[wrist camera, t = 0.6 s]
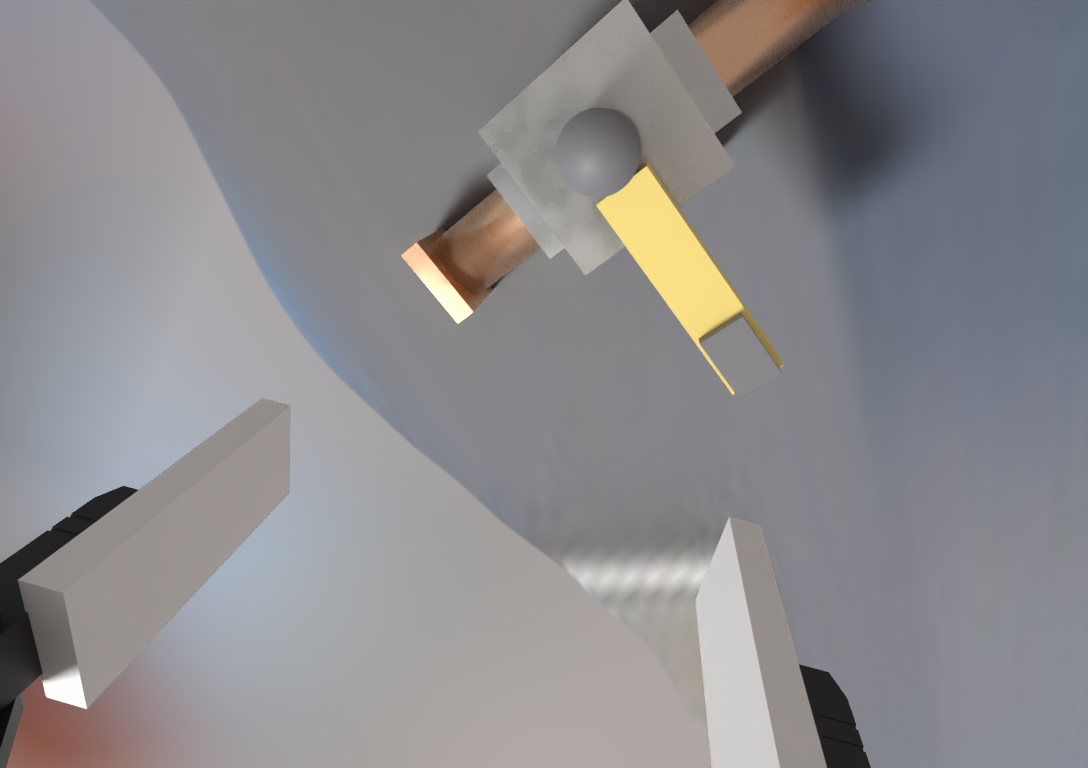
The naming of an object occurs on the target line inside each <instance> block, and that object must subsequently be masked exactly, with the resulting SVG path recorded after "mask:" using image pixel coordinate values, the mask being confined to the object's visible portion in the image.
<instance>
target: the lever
mask: <svg viewBox="0 0 1088 768" xmlns="http://www.w3.org/2000/svg"><path fill="white" fill-rule="evenodd" d="M640 154H641V140H640V135H639V132H638V130H637V128H636V126H635V124H634V123H633V122H632V120H631V119H630V118H629V117H628V116H626V115H625V114H623V113H622V112H620V111H617V110H614V109H609V108H591V109H587V110H584V111H582V112H580V113H578V114H576V115H575V116H574V117H572V118H571V119H570V120H569V121H568V122H567V123H566V125H565V126H564V127H563V129H562V131H561V133H560V135H559V137H558V141H557V145H556V163H557V167H558V170H559V173H560V175H561V177H562V178H563V180H564V181H565V183H566V184H567V185H568V186H569V187H570V188H571V189H573V190H574V191H575V192H577V193H579V194H581V195H584V196H587V197H592V198H600V199H599V201H598V203H597V204H596V206H597V207H598V209H599V210H600V211H601V213H602V214H603V216H604V217H605V218H606V220H607V221H608V223H609V224H610V225H611V227H612V228H613V230H614V231H615V232H616V234H617V235H618V236H619V238H620V239H621V241H622V242H623V243H624V245H625V246H626V248H627V249H628V250H629V252H630V253H631V254H632V256H633V257H634V259H635V260H636V261H637V263H638V264H639V266H640V267H641V268H642V270H643V271H644V272H645V274H646V275H647V277H648V278H649V279H650V281H651V282H652V284H653V285H654V286H655V288H656V289H657V290H658V292H659V293H660V295H661V296H662V297H663V299H664V300H665V302H666V303H667V304H668V306H669V307H670V308H671V310H672V311H673V313H674V314H675V315H676V317H677V318H678V320H679V321H680V322H681V324H682V325H683V326H684V328H685V329H686V331H687V332H688V333H689V335H690V336H691V338H692V339H693V340H694V342H695V343H696V345H697V346H698V347H699V349H700V350H701V351H702V353H703V354H704V356H705V357H706V358H707V360H708V361H709V363H710V364H711V365H712V367H713V368H714V369H715V371H716V372H717V374H718V375H719V376H720V378H721V379H722V381H723V382H724V383H725V385H726V386H727V387H728V389H729V390H730V392H731V393H732V394H736V395H737V397H738V398H740V397H742V396H744V395H745V394H747V393H749V392H751V391H752V390H754V389H756V388H758V387H759V386H761V385H763V384H765V383H766V382H768V381H770V380H772V379H773V378H775V377H777V376H779V375H780V374H782V373H781V371H780V369H779V368H780V367H782V366H783V364H782V362H781V360H780V358H779V356H778V354H777V352H776V351H775V349H774V347H773V345H772V344H771V342H770V341H769V339H768V338H767V336H766V335H765V333H764V332H763V330H762V329H761V327H760V326H759V325H758V323H757V322H756V320H755V319H754V317H753V316H752V314H751V313H750V311H749V310H748V308H747V307H746V306H745V304H744V303H743V301H742V300H741V298H740V297H739V295H738V294H737V292H736V291H735V289H734V288H733V287H732V285H731V284H730V282H729V281H728V279H727V278H726V276H725V275H724V273H723V272H722V270H721V269H720V268H719V266H718V265H717V263H716V262H715V260H714V259H713V257H712V256H711V254H710V253H709V251H708V250H707V249H706V247H705V246H704V244H703V243H702V241H701V240H700V238H699V237H698V235H697V234H696V232H695V231H694V230H693V228H692V227H691V225H690V224H689V222H688V221H687V219H686V218H685V216H684V215H683V213H682V212H681V211H680V209H679V208H678V206H677V205H676V203H675V202H674V200H673V199H672V197H671V196H670V194H669V193H668V192H667V190H666V189H665V187H664V186H663V184H662V183H661V181H660V180H659V178H658V177H657V175H656V174H655V173H654V171H653V170H652V168H651V167H650V165H649V164H648V162H645V163H644V164H643V165H641V166H640V167H639V168H638V169H637V167H638V164H639V160H640Z"/></svg>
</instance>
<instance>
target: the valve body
mask: <svg viewBox="0 0 1088 768" xmlns="http://www.w3.org/2000/svg"><path fill="white" fill-rule="evenodd" d="M856 1H857V0H717V1H716V2H715V3H714V4H713V5H711V6H710V7H709V8H708V9H707V10H705V11H704V12H703V13H702V14H701V15H700V16H698V17H697V18H696V19H695V20H694V21H693V22H691V23H690V24H689V25H687V24H686V22H685V21H684V19H683V17H682V16H681V14H680V13H679V11H678V9H677V10H676V11H675V12H674V13H673V14H672V15H671V16H669V17H668V18H667V19H666V20H665V21H664V22H662V23H661V24H660V25H659V26H658V27H657V28H656V29H654V30H653V31H652V32H651V33H649V31H648V30H647V28H646V27H645V25H644V24H643V22H642V21H641V19H640V17H639V16H638V14H637V13H636V11H635V10H634V8H633V7H632V5H631V4H630V2H629V0H622V1H621V2H620V3H619V4H618V5H617V6H616V7H614V8H613V9H612V10H611V11H610V12H609V13H608V14H607V15H606V16H605V17H603V18H602V19H601V20H600V21H599V22H598V23H597V24H596V25H595V26H594V27H592V28H591V29H590V30H589V31H588V32H587V33H586V34H585V35H584V36H583V37H581V38H580V39H579V40H578V41H577V42H576V43H575V44H574V45H573V46H572V47H571V48H569V49H568V50H567V51H566V52H565V53H564V54H563V55H562V56H561V57H560V58H558V59H557V60H556V61H555V62H554V63H553V64H552V65H551V66H550V67H549V68H547V69H546V70H545V71H544V72H543V73H542V74H541V75H540V76H539V77H538V78H536V79H535V80H534V81H533V82H532V83H531V84H530V85H529V86H528V87H527V88H526V89H524V90H523V91H522V92H521V93H520V94H519V95H518V96H517V97H516V98H515V99H513V100H512V101H511V102H510V103H509V104H508V105H507V106H506V107H505V108H504V109H502V110H501V111H500V112H499V113H498V114H497V115H496V116H495V117H494V118H493V119H491V120H490V121H489V122H488V123H487V124H486V125H485V126H484V127H483V128H482V129H481V130H479V131H478V133H479V134H480V136H481V137H482V138H483V140H484V141H485V142H486V144H487V145H488V146H489V148H490V149H491V150H492V152H493V153H494V154H495V156H496V157H497V158H498V160H499V161H500V162H501V163H500V164H499V165H498V166H497V167H496V168H495V169H493V170H492V171H491V172H490V173H489V174H488V175H487V177H488V178H489V180H490V181H491V182H492V184H493V185H494V186H495V188H496V189H495V190H494V191H493V192H492V193H491V194H489V195H488V196H487V197H486V198H485V199H484V200H482V201H481V202H480V203H479V204H478V205H477V206H475V207H474V208H473V209H472V210H471V211H470V212H468V213H467V214H466V215H465V216H464V217H462V218H461V219H460V220H459V221H458V222H457V223H455V224H454V225H453V226H452V227H451V228H450V229H448V230H447V231H446V230H445V228H444V227H443V228H441V229H440V230H438V231H436V232H434V233H432V234H431V235H429V236H427V237H425V238H423V239H422V240H420V241H418V242H416V243H415V244H414V245H413V246H412V247H411V248H409V249H408V250H407V251H406V252H405V253H404V254H402V255H401V256H402V257H403V258H404V260H405V261H406V262H407V263H408V264H409V266H410V267H411V268H412V269H413V270H414V272H415V273H416V274H417V275H418V276H419V278H420V279H421V280H422V281H423V282H424V284H425V285H426V286H427V287H428V288H429V290H430V291H431V292H432V293H433V294H434V296H435V297H436V298H437V299H438V300H439V302H440V303H441V304H442V305H443V306H444V308H445V309H446V310H447V311H448V312H449V314H450V315H451V316H452V317H453V318H454V320H455V321H456V322H457V323H460V322H461V321H462V320H464V319H465V318H466V317H468V316H469V315H470V314H471V313H473V312H474V311H475V310H476V309H477V307H478V306H479V305H480V304H481V303H482V302H483V301H484V299H485V298H486V297H487V296H488V295H489V294H490V293H491V291H492V290H493V288H492V287H491V285H492V284H493V283H495V282H496V281H497V280H499V279H500V278H501V277H502V276H504V275H505V274H506V273H508V272H509V271H510V270H511V269H513V268H514V267H515V266H517V265H518V264H519V263H520V262H522V261H523V260H524V259H526V258H527V257H528V256H529V255H531V254H532V253H533V252H535V251H536V250H537V249H538V248H540V247H541V248H542V249H543V251H544V252H545V253H546V255H547V256H548V257H549V258H550V259H551V258H552V257H553V256H554V255H556V254H557V253H558V252H560V251H561V250H562V249H564V248H565V249H566V250H567V251H568V253H569V254H570V255H571V257H572V258H573V259H574V261H575V262H576V263H577V265H578V266H579V267H580V269H581V270H582V271H583V273H584V274H585V275H587V274H588V273H590V272H591V271H592V270H594V269H595V268H596V267H598V266H599V265H601V264H602V263H603V262H605V261H606V260H607V259H609V258H610V257H612V256H613V255H614V254H616V253H617V252H618V251H620V250H621V249H622V248H624V247H625V245H624V243H623V242H622V241H621V239H620V238H619V236H618V235H617V234H616V232H615V231H614V230H613V228H612V227H611V225H610V224H609V223H608V221H607V220H606V218H605V217H604V216H603V214H602V213H601V211H600V210H599V209H598V207H597V206H596V204H597V203H598V201H599V199H600V198H592V197H587V196H584V195H581V194H579V193H577V192H575V191H574V190H573V189H571V188H570V187H569V186H568V185H567V184H566V183H565V181H564V180H563V178H562V177H561V175H560V173H559V170H558V167H557V163H556V145H557V141H558V137H559V135H560V133H561V131H562V129H563V127H564V126H565V125H566V123H567V122H568V121H569V120H570V119H571V118H572V117H574V116H575V115H576V114H578V113H580V112H582V111H584V110H587V109H591V108H609V109H614V110H617V111H620V112H622V113H623V114H625V115H626V116H628V117H629V118H630V119H631V120H632V122H633V123H634V124H635V126H636V128H637V130H638V132H639V135H640V140H641V154H640V160H639V164H638V167H637V169H638V168H639V167H640V166H641V165H643V164H644V163H645V162H648V164H649V165H650V167H651V168H652V170H653V171H654V173H655V174H656V175H657V177H658V178H659V180H660V181H661V183H662V184H663V186H664V187H665V189H666V190H667V192H668V193H669V194H670V196H671V197H672V199H673V200H674V202H675V203H676V205H677V206H678V208H679V207H680V206H681V205H683V204H684V203H686V202H687V201H688V200H690V199H691V198H692V197H694V196H695V195H696V194H698V193H699V192H701V191H702V190H703V189H705V188H706V187H707V186H709V185H710V184H712V183H713V182H714V181H716V180H717V179H718V178H720V177H721V176H723V175H724V174H725V173H727V172H728V171H729V170H731V169H732V168H733V167H735V165H734V163H733V162H732V160H731V158H730V157H729V155H728V154H727V152H726V151H725V149H724V148H723V146H722V145H721V143H720V141H719V140H718V138H717V137H716V135H715V134H714V133H716V132H717V131H718V130H720V129H721V128H722V127H724V126H725V125H726V124H728V123H729V122H730V121H732V120H733V119H734V118H735V117H737V116H738V115H739V114H741V113H742V112H741V110H740V108H739V107H738V105H737V104H736V102H735V100H734V99H733V97H734V96H735V95H737V94H738V93H739V92H740V91H742V90H743V89H744V88H746V87H747V86H748V85H749V84H751V83H752V82H753V81H755V80H756V79H757V78H758V77H760V76H761V75H762V74H764V73H765V72H766V71H767V70H769V69H770V68H771V67H773V66H774V65H775V64H776V63H778V62H779V61H780V60H782V59H783V58H784V57H785V56H787V55H788V54H789V53H791V52H792V51H793V50H794V49H796V48H797V47H798V46H800V45H801V44H802V43H803V42H805V41H806V40H807V39H809V38H810V37H811V36H812V35H814V34H815V33H816V32H818V31H819V30H820V29H821V28H823V27H824V26H825V25H827V24H828V23H829V22H830V21H832V20H833V19H834V18H836V17H837V16H838V15H839V14H841V13H842V12H843V11H845V10H846V9H847V8H848V7H850V6H851V5H852V4H854V3H855V2H856ZM858 1H859V2H860V4H861V5H863V4H864V3H866V2H868V1H870V0H858Z"/></svg>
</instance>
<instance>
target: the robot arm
mask: <svg viewBox="0 0 1088 768" xmlns="http://www.w3.org/2000/svg"><path fill="white" fill-rule="evenodd" d="M289 471H290V405H287V404H283V403H278V402H274V401H271V400H267V399H263V398H262V399H260V400H259V401H258V402H256V403H255V404H254V405H252V406H251V407H250V408H248V409H247V410H245V411H244V412H243V413H241V415H239V416H237V417H236V418H235V419H233V420H232V421H231V422H229V423H228V424H227V425H226V426H224V427H223V428H221V429H220V430H219V431H217V432H216V433H215V434H213V435H212V436H211V437H209V438H208V439H207V440H205V441H204V442H203V443H201V444H200V445H199V446H197V447H196V448H195V449H193V450H192V451H191V452H189V453H188V454H186V455H185V456H184V457H182V458H181V459H180V460H179V461H177V462H176V463H175V464H173V465H172V466H170V467H169V468H168V469H167V470H165V471H164V472H162V473H161V474H160V475H158V476H157V477H156V478H154V479H153V480H152V481H150V482H149V483H147V484H146V485H145V486H143V487H142V488H141V489H139V490H137V489H133V488H129V487H125V486H123V487H120V488H117V489H115V490H112V491H110V492H108V493H105V494H103V495H100V496H97V497H95V498H93V499H92V500H90V501H89V502H87V503H86V504H85V505H83V506H82V507H80V508H79V509H78V510H76V511H75V512H73V513H72V514H71V516H70V517H66V518H65V519H63V520H62V521H60V522H59V523H57V524H56V525H55V526H53V528H52V530H51V531H46V532H45V533H43V534H42V535H40V536H39V537H38V538H36V539H35V540H33V541H32V542H30V543H29V544H27V545H26V546H25V547H23V548H22V549H20V550H19V551H18V552H16V553H15V554H13V555H12V556H10V557H9V558H7V559H6V560H5V561H3V562H2V563H0V768H6V766H7V762H8V759H9V755H10V752H11V749H12V745H13V742H14V738H15V735H16V732H17V728H18V725H19V721H20V718H21V715H22V711H23V694H22V692H23V691H24V690H25V689H26V688H27V687H28V686H29V685H30V684H31V683H32V682H33V681H34V680H36V679H37V678H38V677H39V676H40V675H41V677H42V681H43V686H44V689H45V694H46V697H47V698H51V699H54V700H58V701H61V702H65V703H68V704H72V705H75V706H78V707H82V708H85V709H87V708H88V707H89V706H90V705H91V704H92V703H93V702H94V701H95V700H96V699H97V698H98V696H99V695H100V694H101V693H102V692H103V691H104V690H105V689H106V688H107V687H108V686H109V685H110V684H111V683H112V682H113V680H114V679H115V678H116V677H117V676H118V675H119V674H120V673H121V672H122V671H123V670H124V669H125V668H126V667H127V665H129V663H130V662H131V661H132V660H133V659H134V658H135V657H136V656H137V655H138V654H139V653H140V652H141V651H142V650H143V649H144V647H145V646H146V645H147V644H148V643H149V642H150V641H151V640H152V639H153V638H154V637H155V636H156V635H157V633H158V632H159V631H160V630H161V629H162V628H163V627H164V626H165V625H166V624H167V623H168V622H169V621H170V619H172V618H173V617H174V615H175V614H176V613H177V612H178V611H179V610H180V609H181V608H182V607H183V606H184V605H185V604H186V603H187V602H188V601H189V599H190V598H191V597H192V596H193V595H194V594H195V593H196V592H197V591H198V590H199V589H200V588H201V587H202V586H203V584H204V583H205V582H206V581H207V580H208V579H209V578H210V577H211V576H212V575H213V574H214V573H215V572H216V571H217V570H218V569H219V567H220V566H221V565H222V564H223V563H224V562H225V561H226V560H227V559H228V558H229V557H230V556H231V555H232V553H234V551H235V550H236V549H237V548H238V547H239V546H240V545H241V544H242V543H243V542H244V541H245V540H246V538H248V536H249V535H250V534H251V533H252V532H253V531H254V530H255V529H256V528H257V527H258V526H259V525H260V524H261V523H262V522H263V520H264V519H265V518H266V517H267V516H268V515H269V514H270V513H271V512H272V511H273V510H274V509H275V508H276V507H277V506H278V505H279V503H280V502H281V501H282V500H283V499H284V498H285V497H286V496H287V495H288V494H289V475H290V473H289ZM695 601H696V611H697V621H698V631H699V641H700V651H701V662H702V672H703V682H704V692H705V702H706V712H707V722H708V733H709V743H710V753H711V763H712V768H871V767H870V764H869V761H868V758H867V755H866V752H863V747H864V746H863V744H862V741H861V738H860V735H859V732H858V730H856V728H855V727H856V723H855V720H854V717H853V714H852V711H851V708H850V705H849V702H848V699H847V697H846V696H845V695H844V693H843V692H842V690H841V689H840V688H839V686H838V685H837V683H836V682H835V680H834V679H833V678H832V676H831V675H830V673H829V672H825V671H822V670H818V669H814V668H810V667H807V666H803V665H799V663H798V660H797V656H796V653H795V649H794V645H793V642H792V638H791V634H790V631H789V627H788V623H787V620H786V616H785V612H784V609H783V605H782V601H781V598H780V594H779V590H778V587H777V583H776V580H775V576H774V572H773V569H772V565H771V561H770V558H769V554H768V550H767V547H766V543H765V539H764V536H763V532H762V528H761V525H759V524H755V523H751V522H747V521H743V520H739V519H735V518H731V517H729V519H728V521H727V524H726V526H725V529H724V531H723V534H722V536H721V539H720V541H719V543H718V546H717V548H716V551H715V553H714V556H713V558H712V561H711V563H710V565H709V568H708V570H707V573H706V575H705V578H704V580H703V583H702V585H701V587H700V590H699V592H698V595H697V597H696V600H695Z"/></svg>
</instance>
